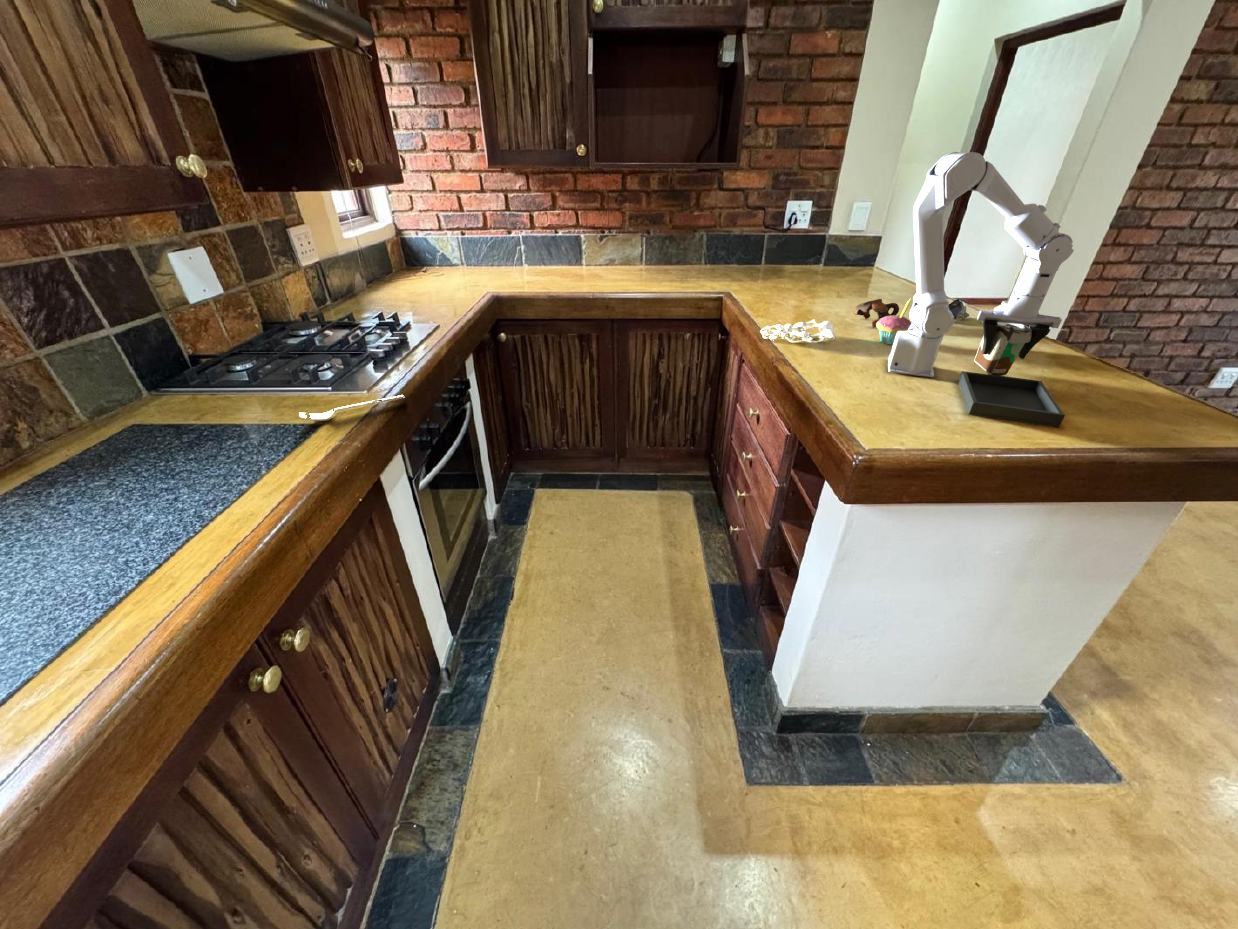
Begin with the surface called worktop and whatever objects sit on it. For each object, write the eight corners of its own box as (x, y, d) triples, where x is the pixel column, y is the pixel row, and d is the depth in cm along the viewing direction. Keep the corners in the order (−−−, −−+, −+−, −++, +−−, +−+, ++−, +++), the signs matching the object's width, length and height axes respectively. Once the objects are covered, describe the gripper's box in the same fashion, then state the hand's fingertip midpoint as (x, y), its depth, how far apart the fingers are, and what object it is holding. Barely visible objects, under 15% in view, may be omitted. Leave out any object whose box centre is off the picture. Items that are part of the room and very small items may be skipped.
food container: (1024, 380, 107) (1046, 336, 101) (993, 378, 108) (1014, 333, 102) (999, 360, 117) (1018, 319, 111) (971, 358, 118) (989, 317, 112)
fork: (406, 401, 106) (404, 393, 105) (302, 425, 97) (299, 417, 96) (403, 396, 108) (401, 388, 107) (301, 419, 99) (298, 411, 98)
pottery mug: (863, 330, 143) (858, 302, 143) (853, 335, 152) (848, 309, 152) (906, 320, 141) (901, 291, 140) (893, 325, 150) (888, 299, 150)
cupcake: (908, 340, 134) (922, 295, 128) (904, 349, 128) (919, 302, 122) (874, 335, 138) (886, 291, 132) (869, 343, 132) (881, 298, 126)
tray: (968, 414, 96) (973, 402, 95) (957, 381, 110) (961, 371, 108) (1059, 427, 91) (1065, 415, 90) (1036, 391, 104) (1041, 380, 103)
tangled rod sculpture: (758, 348, 134) (760, 334, 131) (761, 328, 145) (763, 315, 142) (834, 352, 129) (837, 337, 126) (831, 331, 140) (834, 317, 137)
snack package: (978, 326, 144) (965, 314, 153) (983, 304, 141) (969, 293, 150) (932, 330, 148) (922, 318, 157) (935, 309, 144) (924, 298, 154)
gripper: (1065, 292, 104) (1036, 353, 111) (985, 286, 109) (963, 345, 116) (1075, 300, 98) (1044, 364, 106) (991, 294, 103) (967, 355, 111)
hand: (1002, 355), depth 111 cm, fingers closed on food container, 6 cm apart
